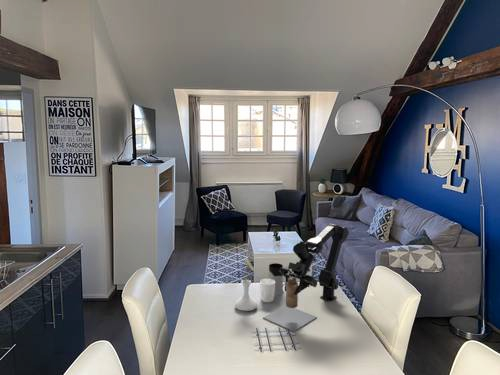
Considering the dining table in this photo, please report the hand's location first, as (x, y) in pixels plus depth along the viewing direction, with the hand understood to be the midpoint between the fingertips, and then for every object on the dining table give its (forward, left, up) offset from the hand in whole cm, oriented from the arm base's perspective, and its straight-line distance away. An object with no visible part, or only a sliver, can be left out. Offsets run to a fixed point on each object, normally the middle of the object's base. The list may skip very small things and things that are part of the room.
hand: (290, 292), depth 177 cm
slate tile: (-1, -1, -13) cm, 13 cm away
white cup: (-9, -22, -14) cm, 27 cm away
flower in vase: (+5, -24, -14) cm, 28 cm away
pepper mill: (-1, 0, -7) cm, 7 cm away
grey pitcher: (-22, -24, -14) cm, 35 cm away
